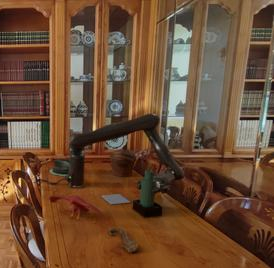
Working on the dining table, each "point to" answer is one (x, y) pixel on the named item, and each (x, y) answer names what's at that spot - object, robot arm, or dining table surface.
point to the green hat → (60, 167)
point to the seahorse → (125, 239)
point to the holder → (147, 209)
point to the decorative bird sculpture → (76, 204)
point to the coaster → (115, 199)
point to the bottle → (147, 189)
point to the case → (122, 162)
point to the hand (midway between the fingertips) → (145, 189)
